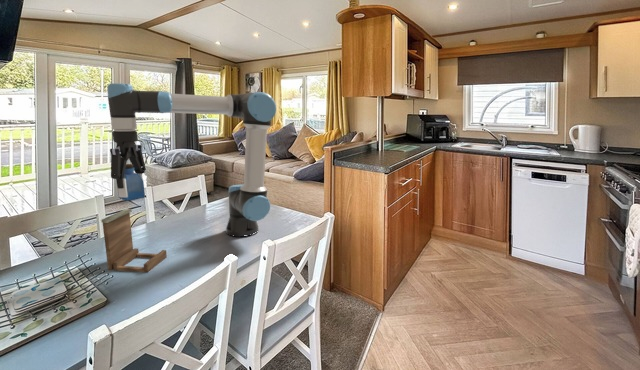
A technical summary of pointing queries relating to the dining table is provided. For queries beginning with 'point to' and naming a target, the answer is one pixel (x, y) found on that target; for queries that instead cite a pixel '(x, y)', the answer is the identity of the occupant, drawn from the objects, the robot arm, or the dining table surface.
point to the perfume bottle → (133, 184)
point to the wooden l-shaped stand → (125, 244)
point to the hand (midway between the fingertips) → (131, 193)
